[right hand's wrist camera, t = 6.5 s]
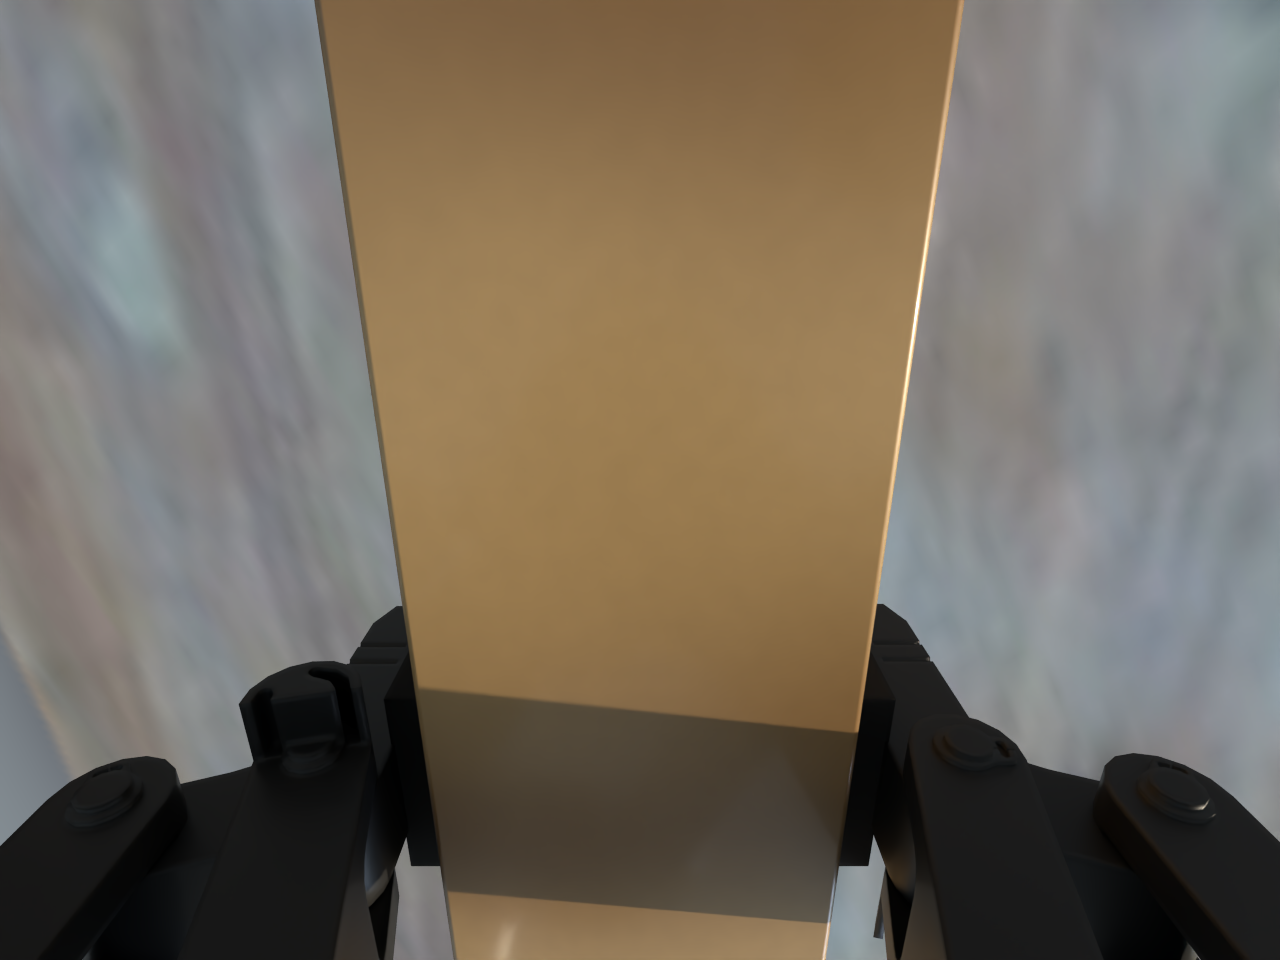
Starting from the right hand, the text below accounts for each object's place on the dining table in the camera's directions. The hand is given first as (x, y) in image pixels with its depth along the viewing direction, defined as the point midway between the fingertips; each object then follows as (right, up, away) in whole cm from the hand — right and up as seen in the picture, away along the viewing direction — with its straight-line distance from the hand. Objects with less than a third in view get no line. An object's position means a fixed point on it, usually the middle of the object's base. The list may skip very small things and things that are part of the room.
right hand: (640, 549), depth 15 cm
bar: (0, +8, -3) cm, 9 cm away
